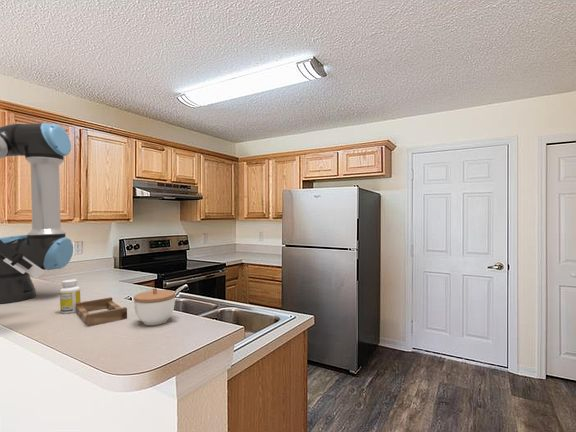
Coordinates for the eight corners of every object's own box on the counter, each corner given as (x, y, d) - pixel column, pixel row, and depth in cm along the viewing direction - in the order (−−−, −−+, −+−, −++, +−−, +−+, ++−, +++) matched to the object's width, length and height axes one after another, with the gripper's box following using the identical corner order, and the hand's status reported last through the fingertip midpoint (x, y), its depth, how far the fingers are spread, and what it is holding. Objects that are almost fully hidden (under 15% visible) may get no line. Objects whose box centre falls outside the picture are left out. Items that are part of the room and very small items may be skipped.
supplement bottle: (77, 308, 110) (76, 278, 109) (83, 310, 106) (82, 280, 106) (57, 312, 105) (57, 281, 105) (63, 315, 102) (62, 283, 102)
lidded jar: (159, 314, 101) (158, 283, 101) (183, 319, 95) (183, 286, 95) (126, 324, 92) (125, 290, 92) (151, 330, 86) (150, 294, 86)
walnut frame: (76, 312, 104) (75, 303, 104) (111, 306, 111) (111, 297, 111) (87, 326, 91) (87, 315, 90) (127, 318, 97) (126, 308, 97)
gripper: (-60, 232, 92) (11, 278, 104) (-48, 234, 76) (34, 288, 88) (-34, 213, 96) (32, 259, 108) (-17, 211, 80) (57, 265, 92)
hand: (33, 272), depth 98 cm, fingers open, 13 cm apart
